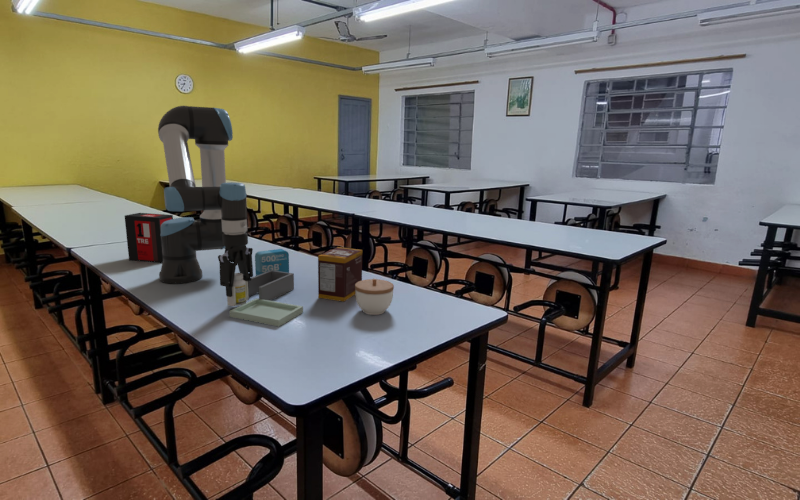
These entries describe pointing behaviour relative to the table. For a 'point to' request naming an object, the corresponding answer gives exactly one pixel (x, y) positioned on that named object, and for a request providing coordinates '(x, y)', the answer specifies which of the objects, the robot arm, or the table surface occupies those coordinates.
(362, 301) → the lidded bowl
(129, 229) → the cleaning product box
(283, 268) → the data package
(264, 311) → the tray
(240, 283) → the supplement bottle
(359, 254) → the supplement box
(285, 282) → the bay
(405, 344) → the table surface
